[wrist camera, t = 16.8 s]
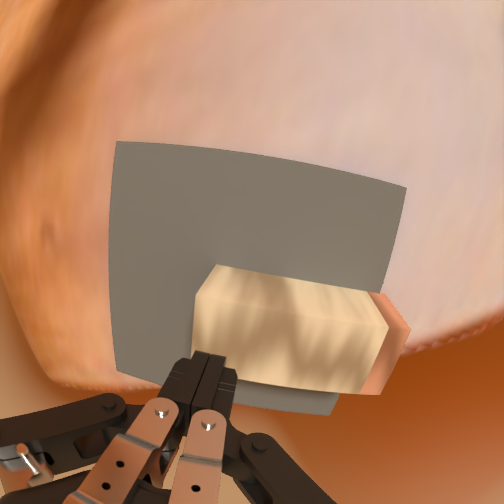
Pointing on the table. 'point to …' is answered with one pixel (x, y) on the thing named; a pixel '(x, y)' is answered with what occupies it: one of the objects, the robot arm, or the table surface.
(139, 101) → the table surface
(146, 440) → the robot arm
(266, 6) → the table surface
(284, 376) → the birch block
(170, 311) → the slate mat
